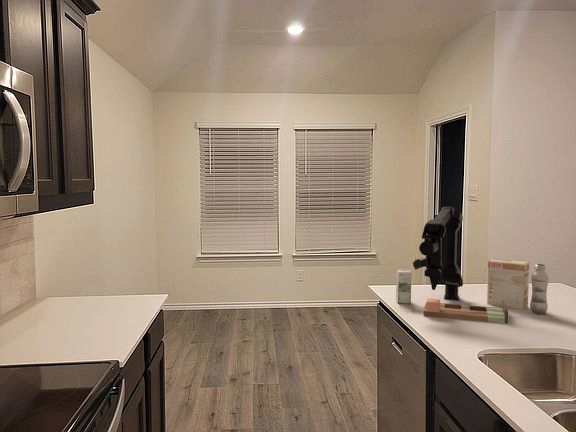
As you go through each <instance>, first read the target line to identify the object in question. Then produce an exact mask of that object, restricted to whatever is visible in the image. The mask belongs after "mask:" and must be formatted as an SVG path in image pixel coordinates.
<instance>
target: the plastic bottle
mask: <svg viewBox="0 0 576 432" xmlns="http://www.w3.org/2000/svg"><path fill="white" fill-rule="evenodd" d="M534 269H535V270H534V272H533V273H532V274H531V276H530V279H531V290H532V291H531V299H530V303H529V309H530V311H531V312H532V313H535V314H546V313H547V312H548V307H549V306H548V302H547V301H548V299H547V298H548V297H547V294H548V293H547V290H548V285H549V284H548V283H549V281H550V277H549V275H548V273H547V272H546V264H541V263H535V267H534Z"/></svg>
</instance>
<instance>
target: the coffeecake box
mask: <svg viewBox="0 0 576 432" xmlns="http://www.w3.org/2000/svg"><path fill="white" fill-rule="evenodd" d="M529 285H530V262H528V261H521V260H520V261H518V260H510V259H500V258H491V259H489V260H488V264H487V295H486V296H487V297H486V300H487V301H486V303H487V304H486V305H491V306H492V305H493V306H498V307H502V301H505V303H506V306H507V309H508V308H509V309H514V310H521V311H524V310H525V309H527V308H529V291H530V286H529Z"/></svg>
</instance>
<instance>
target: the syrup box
mask: <svg viewBox="0 0 576 432" xmlns="http://www.w3.org/2000/svg"><path fill="white" fill-rule="evenodd" d="M395 289H396V292H395V293H396V294H395V295H396V299H395V300H396V302H397V304H405V305H406V304H407V305H408V304H410V305H411V303H412V302H411V301H412V299H411V298H412V297H411V296H412V272H411V270H410V269H396V288H395Z"/></svg>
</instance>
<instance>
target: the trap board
mask: <svg viewBox="0 0 576 432" xmlns="http://www.w3.org/2000/svg"><path fill="white" fill-rule="evenodd" d="M423 307H424V308H423V312H422V314H423V317H432V318H433V317H434V318H445V319H456V320H467V321H477V322H487V323H488V322H489V323H497V324H498V323H499V324H508V320H509V310H508V307H507V306H506V303H505V301H502V306H501V307H494V306H493V307H492V306H482V305H470V304H469V305H468V304H460V303H457V304H455V303H447V302H446V303H445V302H440V312H439V313H438V312H427V311H426V303H425V304H424V306H423Z"/></svg>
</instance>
